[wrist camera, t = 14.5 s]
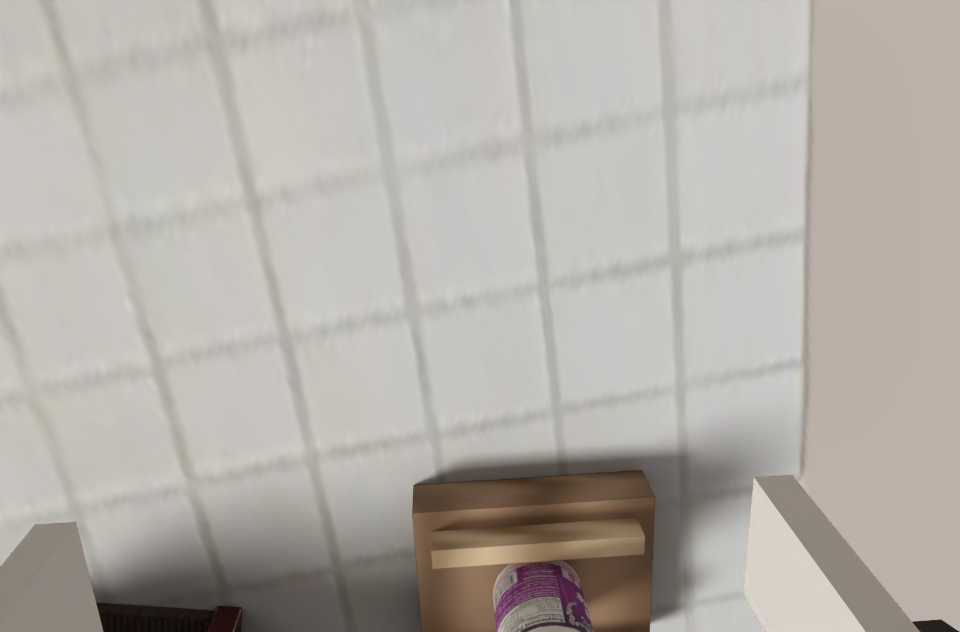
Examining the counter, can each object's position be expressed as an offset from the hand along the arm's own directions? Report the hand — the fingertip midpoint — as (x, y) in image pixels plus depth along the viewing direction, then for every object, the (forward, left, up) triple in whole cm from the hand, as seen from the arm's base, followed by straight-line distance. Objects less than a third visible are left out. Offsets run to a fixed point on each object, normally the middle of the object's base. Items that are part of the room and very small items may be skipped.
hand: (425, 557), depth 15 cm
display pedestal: (+5, -22, -29) cm, 37 cm away
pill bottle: (+5, -22, -26) cm, 34 cm away
